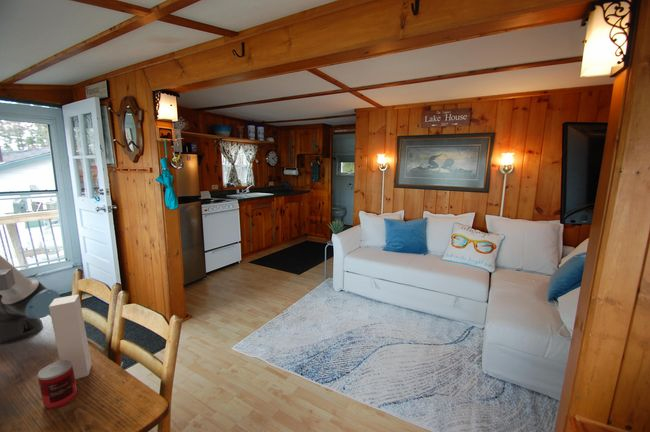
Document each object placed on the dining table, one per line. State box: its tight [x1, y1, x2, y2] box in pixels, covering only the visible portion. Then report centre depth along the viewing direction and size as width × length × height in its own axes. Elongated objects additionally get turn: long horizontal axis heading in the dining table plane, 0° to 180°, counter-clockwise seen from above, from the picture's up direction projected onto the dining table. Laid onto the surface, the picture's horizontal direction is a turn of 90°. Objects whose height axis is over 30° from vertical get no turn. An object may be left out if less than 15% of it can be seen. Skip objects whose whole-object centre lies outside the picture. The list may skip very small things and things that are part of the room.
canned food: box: [37, 360, 78, 410], centre depth 87 cm, size 8×8×11 cm
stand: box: [49, 293, 93, 380], centre depth 96 cm, size 6×6×28 cm
